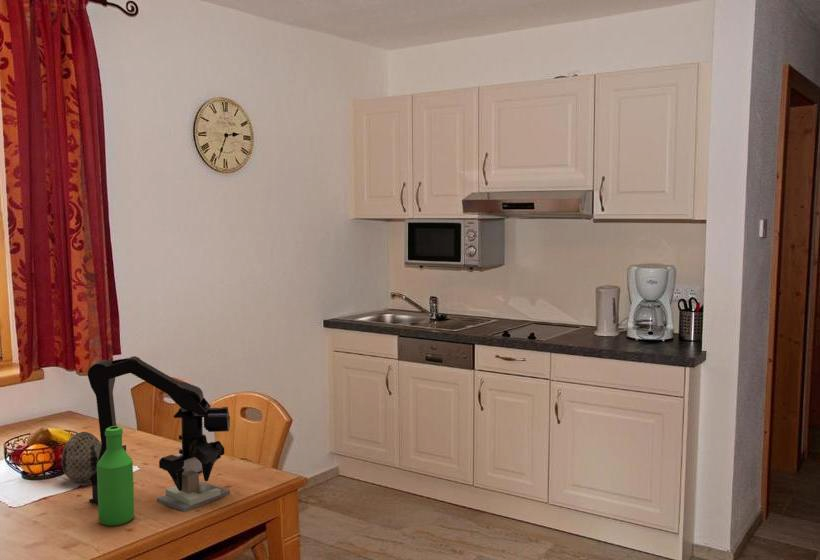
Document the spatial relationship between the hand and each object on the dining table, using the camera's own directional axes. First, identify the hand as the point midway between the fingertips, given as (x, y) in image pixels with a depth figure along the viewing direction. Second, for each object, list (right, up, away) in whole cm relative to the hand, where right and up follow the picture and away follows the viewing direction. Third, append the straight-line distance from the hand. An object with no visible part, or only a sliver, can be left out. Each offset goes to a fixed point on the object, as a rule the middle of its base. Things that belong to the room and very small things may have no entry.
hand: (193, 485), depth 215 cm
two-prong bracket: (0, -3, 0) cm, 3 cm away
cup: (-7, -2, +21) cm, 23 cm away
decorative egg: (-36, -2, +13) cm, 39 cm away
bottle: (-16, -5, -15) cm, 22 cm away
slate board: (0, -4, +1) cm, 4 cm away
